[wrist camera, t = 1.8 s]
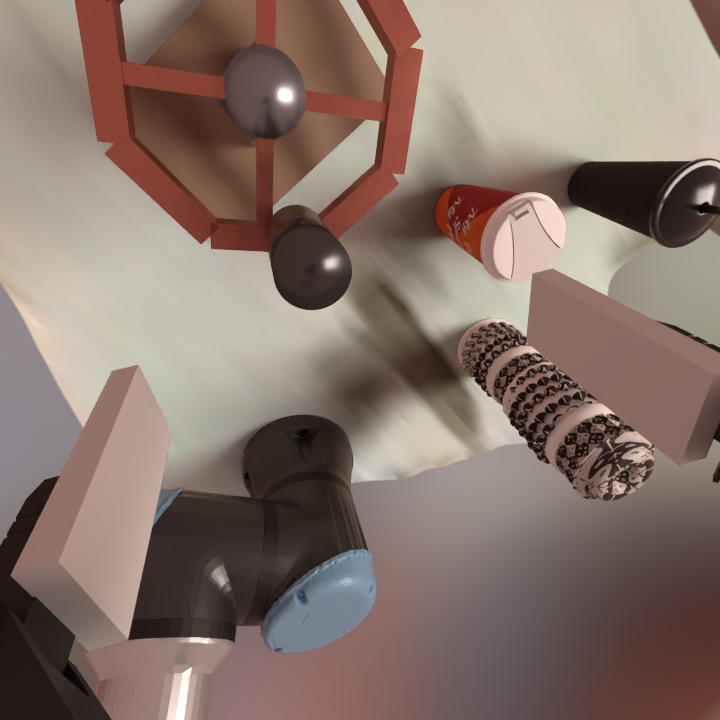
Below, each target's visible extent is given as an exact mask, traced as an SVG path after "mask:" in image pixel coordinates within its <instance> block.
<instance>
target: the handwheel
mask: <svg viewBox="0 0 720 720" xmlns="http://www.w3.org/2000/svg"><path fill="white" fill-rule="evenodd" d="M123 1H124V0H75V5H76V11H77V17H78V23H79V29H80V35H81V42H82V48H83V54H84V60H85V66H86V72H87V79H88V85H89V91H90V97H91V103H92V109H93V116H94V122H95V128H96V134H97V140H98V141H101V142H110V143H115V144H114V145H113V146H112V147H111V148H110V149H109V150H108V151H107V152H106V153H105V155H106V156H108V157H109V158H110V159H111V160H112V161H113V162H114V163H115V164H116V165H117V166H118V167H119V168H120V169H121V170H122V171H124V172H125V173H126V174H127V175H128V176H129V177H130V178H131V179H132V180H133V181H134V182H135V183H136V184H137V185H138V186H139V187H141V188H142V189H143V190H144V191H145V192H146V193H147V194H148V195H149V196H150V197H151V198H152V199H153V200H154V201H155V202H157V203H158V204H159V205H160V206H161V207H162V208H163V209H164V210H165V211H166V212H167V213H168V214H169V215H170V216H171V217H172V218H174V219H175V220H176V221H177V222H178V223H179V224H180V225H181V226H182V227H183V228H184V229H185V230H186V231H187V232H188V233H190V234H191V235H192V236H193V237H194V238H195V239H196V240H197V241H198V242H199V243H200V244H202V243H203V242H204V241H205V240H206V239H207V238H208V237H209V236H211V249H225V250H244V251H264V252H269V257H270V262H271V267H272V272H273V277H274V282H275V285H276V288H277V290H278V292H279V293H280V295H281V296H282V297H283V298H284V299H285V300H286V301H287V302H288V303H290V304H292V305H293V306H295V307H298V308H301V309H305V310H318V309H322V308H326V307H328V306H330V305H332V304H334V303H335V302H336V301H338V300H339V299H340V298H341V297H342V296H343V295H344V293H345V292H346V290H347V288H348V286H349V284H350V281H351V276H352V266H351V261H350V258H349V255H348V254H347V252H346V250H345V249H344V247H343V246H342V245H341V243H340V242H339V241H338V240H337V238H338V237H340V236H341V235H342V234H343V233H344V232H345V231H346V230H348V229H349V228H350V227H351V226H352V225H353V224H354V223H355V222H357V221H358V220H359V219H360V218H361V217H362V216H363V215H364V214H366V213H367V212H368V211H369V210H370V209H371V208H372V207H374V206H375V205H376V204H377V203H378V202H379V201H380V200H381V199H383V198H384V197H385V196H386V195H387V194H388V193H389V192H390V191H392V190H393V189H394V188H395V187H396V186H397V185H398V184H399V183H398V182H397V180H396V179H395V177H394V176H393V174H392V173H395V174H404V172H405V165H406V159H407V152H408V146H409V140H410V133H411V127H412V120H413V114H414V107H415V101H416V94H417V88H418V82H419V75H420V69H421V62H422V56H423V50H421V49H415V48H410V47H411V46H412V45H413V44H414V43H415V42H416V41H417V40H418V39H419V38H420V37H421V35H420V33H419V31H418V29H417V27H416V25H415V23H414V21H413V19H412V17H411V15H410V14H409V12H408V10H407V8H406V6H405V4H404V2H403V0H357V2H358V4H359V5H360V7H361V9H362V11H363V12H364V14H365V16H366V18H367V19H368V21H369V23H370V25H371V26H372V28H373V30H374V32H375V33H376V35H377V37H378V39H379V40H380V42H381V44H382V46H383V47H384V49H385V51H386V53H387V54H388V59H387V67H386V75H385V83H384V91H383V100H382V102H379V101H373V100H367V99H360V98H354V97H347V96H341V95H334V94H328V93H322V92H315V91H309V90H305V86H304V81H303V79H302V76H301V74H300V72H299V70H298V68H297V66H296V65H295V63H294V62H293V61H292V60H291V59H290V58H289V57H288V56H287V55H286V54H285V53H283V52H282V51H280V50H279V49H277V48H275V42H276V0H256V45H252V46H249V47H246V48H244V49H242V50H241V51H239V52H238V53H237V54H236V55H235V56H234V58H233V59H232V60H231V62H230V63H229V66H228V68H227V71H226V74H225V78H224V77H219V76H212V75H206V74H199V73H193V72H186V71H180V70H174V69H167V68H161V67H154V66H148V65H141V64H135V63H129V62H127V60H126V52H125V43H124V35H123V27H122V19H121V11H120V4H121V3H122V2H123ZM130 86H135V87H142V88H149V89H156V90H163V91H170V92H177V93H184V94H191V95H198V96H205V97H212V98H219V99H225V98H226V102H227V105H228V108H229V110H230V112H231V114H232V116H233V117H234V119H235V120H236V121H237V123H238V124H239V125H240V126H241V127H242V128H243V129H245V130H246V131H247V132H249V133H250V134H252V135H254V136H256V221H253V220H239V219H225V218H216V217H215V216H214V215H213V214H212V213H211V212H210V211H209V210H208V209H207V208H206V207H205V206H204V205H203V204H202V203H201V202H200V201H199V200H198V199H197V198H196V197H195V196H194V195H193V194H192V193H191V192H190V191H189V190H188V189H187V188H186V187H185V186H184V185H183V184H182V183H181V182H180V181H179V180H178V179H177V178H176V177H175V176H174V175H173V174H172V173H171V172H170V171H169V170H168V169H167V168H166V167H165V166H164V165H163V164H162V163H161V162H160V161H159V160H158V159H157V158H156V157H155V156H154V154H153V153H152V152H151V151H150V150H149V149H148V148H147V147H146V146H145V145H144V144H143V143H142V142H141V141H140V140H139V139H138V138H137V137H136V133H135V125H134V117H133V109H132V100H131V92H130ZM304 111H310V112H317V113H324V114H331V115H338V116H345V117H353V118H360V119H367V120H374V121H380V124H379V132H378V140H377V149H376V157H375V164H374V165H373V166H372V167H371V168H370V169H369V170H367V171H366V172H365V173H364V174H363V175H362V176H361V177H360V178H359V179H357V180H356V181H355V182H354V183H353V184H352V185H351V186H350V187H349V188H348V189H346V190H345V191H344V192H343V193H342V194H341V195H340V196H339V197H338V198H336V199H335V200H334V201H333V202H332V203H331V204H330V205H329V206H328V207H327V208H325V209H324V210H323V211H322V212H321V213H320V214H319V215H318V214H317V213H316V212H315V211H313V210H312V209H310V208H308V207H305V206H301V205H291V206H287V207H284V208H282V209H280V210H279V211H277V212H276V213H275V214H274V215H273V159H274V139H276V138H280V137H282V136H285V135H287V134H288V133H290V132H291V131H292V130H293V129H294V128H295V127H296V126H297V125H298V123H299V122H300V120H301V118H302V115H303V113H304Z"/></svg>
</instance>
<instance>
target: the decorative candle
mask: <svg viewBox="0 0 720 720" xmlns="http://www.w3.org/2000/svg"><path fill="white" fill-rule="evenodd" d="M526 339H527V337H525V336H523V334H522V332H521V331H519V330H516V328H515V327H514V326H513V325H510V324H509V323H508V322H506V321H504V320H503V319H501V318H487V319H484V320H481V321H478V322H477V323H475V324H474V325H473V326H471V327H470V328H469V329H468V330H467V331H466V332H465V334H464V335H463V336H462V338H461V339H460V342H459V346H458V349H457V354H458V360H459V362H460V363H461V365H462V366H463V368H464V369H465V370H466V371H470V374H469V375H470V376H471V377H473V376H474V377H475V378H476V379H475V382H476V383H477V384H478V385H481V388H482V390H483V391H485V392H487V395H488V396H489V397H493V398H494V400H495V401H496V402H497V403H499V404H501V405H502V406H503V412H504V413H505V415H506V416H507V417H508V419H509V420H510V423H511V425H512V426H514V427H515V428H516V429H517V430H518V431H519V435H520V436H521V437H525V439H526V441H527V442H528V447H529V448H530V449H533V451H534V452H535V453H536V454H537V458H538V459H539V460H540V461H544V462H545V463H547V464H552V465H553V466H554V467H555V468H556V469H557V471H559V472H561V473H563V474H564V475H565V476H566V477H567V479H568V480H569V481H570V482H571V483H572V484H573V488H574V490H575V491H576V493H577V495H578V496H580V497H583V498H586V499H597V498H599V499H601V500H606V501H607V500H617V499H620V498H623V497H625V496H628V495H629V494H631V493H632V492H634V491H636V490H637V489H638V488H639V487H641V486H642V485H643V484H644V483H645V482H646V481H647V479H648V478H649V476H650V474H651V473H652V470H653V465H654V458H653V451H654V447H655V446H654V445H653V444H651V443H650V442H649V441H648V440H646V439H645V438H644V437H643V436H642V435H640V434H639V433H638V432H637V431H635V430H634V429H633V428H632V427H630V426H629V425H628V424H627V423H625V422H624V421H623V420H622V419H621V418H619V417H618V416H617V415H616V414H614V413H613V412H612V411H611V410H609V409H608V408H607V407H606V406H604V405H603V404H602V403H601V402H600V401H598V400H597V399H596V398H595V397H593V396H592V395H591V394H590V393H588V392H587V391H586V390H585V389H583V388H582V387H581V386H580V385H578V384H577V383H576V382H575V381H574V380H572V379H571V378H570V377H569V376H567V375H566V374H565V373H564V372H562V371H561V370H560V369H559V368H557V367H556V366H555V365H554V364H553V363H551V362H550V361H549V360H548V359H546V358H545V357H544V356H543V355H541V354H540V353H539V352H538V351H536V350H535V349H534V348H533V347H532V346H530V345H529V344H528V343H527V342H526ZM525 431H526V432H525ZM535 441H536V443H537V445H536V444H534V443H533V442H535ZM543 454H545V455H543Z"/></svg>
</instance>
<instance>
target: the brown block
mask: <svg viewBox="0 0 720 720" xmlns="http://www.w3.org/2000/svg"><path fill="white" fill-rule="evenodd" d="M252 45H256V0H205V1H204V2H203V3H202V4H201V5H200V6H199V7H198V8H197V9H196V10H195V11H194V12H193V13H192V15H191V16H190V17H189V18H188V19H187V20H186V21H185V22H184V23H183V24H182V25H181V26H180V27H179V28H178V29H177V31H176V32H175V33H174V34H173V35H172V36H171V37H170V38H169V39H168V40H167V41H166V42H165V43H164V44H163V45H162V46H161V48H160V49H159V50H158V51H157V52H156V53H155V54H154V55H153V56H152V57H151V58H150V59H149V60H148V61H147V62H146V64H145V65H148V66H154V67H161V68H167V69H174V70H180V71H186V72H193V73H199V74H206V75H212V76H219V77H224V78H225V74H226V71H227V68H228V66H229V63H230V62H231V60H232V59H233V58H234V56H235V55H236V54H237V53H238V52H239V51H241V50H242V49H244V48H246V47H249V46H252ZM275 48H277V49H279V50H280V51H282V52H283V53H285V54H286V55H287V56H288V57H289V58H290V59H291V60H292V61H293V62H294V63H295V65H296V66H297V68H298V70H299V72H300V74H301V76H302V79H303V81H304V86H305V90H309V91H315V92H322V93H328V94H334V95H341V96H347V97H354V98H360V99H367V100H373V101H379V102H382V100H383V91H384V83H385V77H384V75H383V74H382V72H381V70H380V69H379V67H378V65H377V63H376V62H375V60H374V58H373V57H372V55H371V53H370V52H369V50H368V48H367V47H366V45H365V43H364V42H363V40H362V38H361V36H360V35H359V33H358V31H357V30H356V28H355V26H354V25H353V23H352V21H351V20H350V18H349V16H348V14H347V13H346V11H345V9H344V8H343V6H342V4H341V3H340V1H339V0H276V42H275ZM130 92H131V100H132V109H133V117H134V125H135V133H136V137H137V138H138V139H139V140H140V141H141V142H142V143H143V144H144V145H145V146H146V147H147V148H148V149H149V150H150V151H151V152H152V153H153V154H154V156H155V157H156V158H157V159H158V160H159V161H160V162H161V163H162V164H163V165H164V166H165V167H166V168H167V169H168V170H169V171H170V172H171V173H172V174H173V175H174V176H175V177H176V178H177V179H178V180H179V181H180V182H181V183H182V184H183V185H184V186H185V187H186V188H187V189H188V190H189V191H190V192H191V193H192V194H193V195H194V196H195V197H196V198H197V199H198V200H199V201H200V202H201V203H202V204H203V205H204V206H205V207H206V208H207V209H208V210H209V211H210V212H211V213H212V214H213V215H214V216H215V217H216V218H225V219H239V220H253V221H256V136H254V135H252V134H250V133H249V132H247V131H246V130H245V129H243V128H242V127H241V126H240V125H239V124H238V123H237V121H236V120H235V119H234V117H233V116H232V114H231V112H230V110H229V108H228V105H227V102H226V98H225V99H219V98H212V97H205V96H198V95H191V94H184V93H177V92H170V91H163V90H156V89H149V88H142V87H135V86H130ZM365 120H366V119H360V118H353V117H345V116H338V115H331V114H324V113H317V112H310V111H304V113H303V115H302V118H301V120H300V122H299V123H298V125H297V126H296V127H295V128H294V129H293V130H292V131H291V132H290V133H288V134H287V135H285V136H282V137H280V138H276V139H274V159H273V205H274V204H275V203H277V202H278V201H279V200H280V199H281V198H282V197H283V196H284V195H285V194H286V193H287V192H288V191H289V190H291V189H292V188H293V187H294V186H295V185H296V184H297V183H298V182H299V181H300V180H301V179H302V178H303V177H305V176H306V175H307V174H308V173H309V172H310V171H311V170H312V169H313V168H314V167H315V166H316V165H317V164H318V163H320V162H321V161H322V160H323V159H324V158H325V157H326V156H327V155H328V154H329V153H330V152H331V151H332V150H334V149H335V148H336V147H337V146H338V145H339V144H340V143H341V142H342V141H343V140H344V139H345V138H346V137H348V136H349V135H350V134H351V133H352V132H353V131H354V130H355V129H356V128H357V127H358V126H359V125H360V124H362V123H363V122H364V121H365Z"/></svg>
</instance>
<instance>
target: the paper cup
mask: <svg viewBox="0 0 720 720" xmlns="http://www.w3.org/2000/svg"><path fill="white" fill-rule="evenodd" d="M435 220H436V223H437V226H438V227H439V229H440V230H441V231H442V232H443V233H444V234H445V235H446V236H447V237H449V238H450V239H451V240H452V241H454V242H455V243H456V244H457V245H459V246H460V247H461V248H462V249H464V250H465V251H466V252H468V253H469V254H470V255H471V256H473V257H474V258H475V259H477V260H478V261H479V262H481V263H482V264H483V265H484V267H485V269H486V270H487V271H488V273H489V274H490V275H491V276H493V277H494V278H496V279H498V280H500V281H504V282H517V281H527V280H531V279H532V273H536V272H540V271H545V270H546V269H547V268H549V267H550V265H551V264H552V263H553V262H554V260H555V259H556V257H557V256H558V254H559V253H560V251H561V249H562V247H563V244H564V241H565V236H566V225H565V220H564V217H563V215H562V213H561V211H560V210H559V209H558V207H557V205H556V203H555V202H554V201H553V200H552V199H551V198H549V197H548V196H546V195H544V194H541V193H537V192H527V193H522V194H519V193H514V192H508V191H503V190H497V189H491V188H485V187H479V186H473V185H456V186H453V187H451V188H449V189H448V190H446V191H445V192H444V193H443V194H442V196H441V197H440V199H439V200H438V203H437V205H436V209H435Z"/></svg>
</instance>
